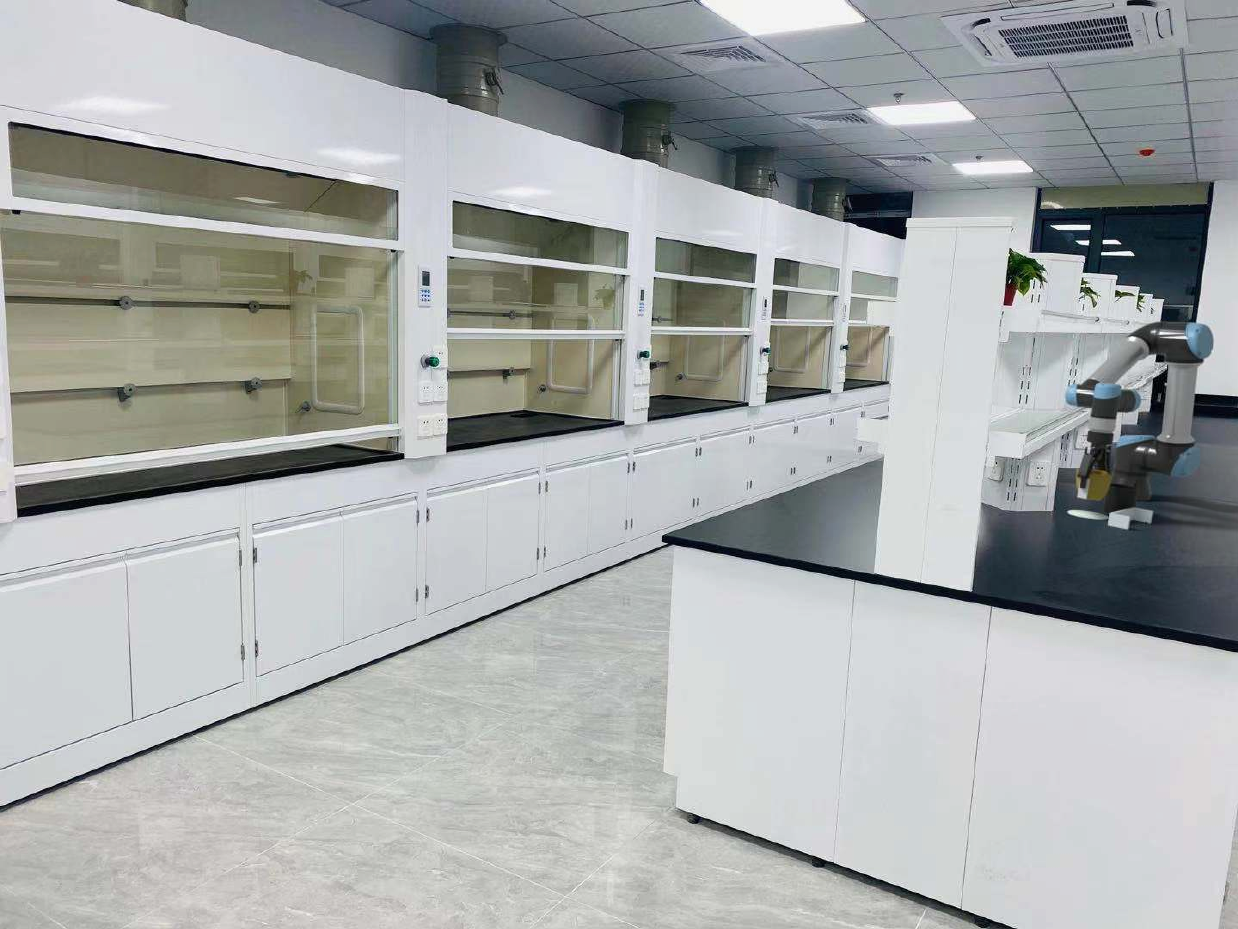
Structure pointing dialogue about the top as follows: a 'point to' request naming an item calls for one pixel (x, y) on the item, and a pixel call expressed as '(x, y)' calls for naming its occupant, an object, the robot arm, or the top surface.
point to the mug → (1120, 498)
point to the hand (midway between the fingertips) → (1090, 496)
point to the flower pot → (1097, 484)
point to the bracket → (1129, 517)
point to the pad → (1088, 514)
